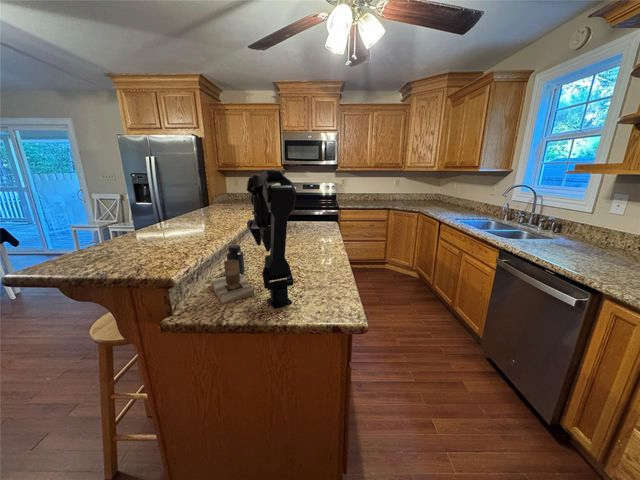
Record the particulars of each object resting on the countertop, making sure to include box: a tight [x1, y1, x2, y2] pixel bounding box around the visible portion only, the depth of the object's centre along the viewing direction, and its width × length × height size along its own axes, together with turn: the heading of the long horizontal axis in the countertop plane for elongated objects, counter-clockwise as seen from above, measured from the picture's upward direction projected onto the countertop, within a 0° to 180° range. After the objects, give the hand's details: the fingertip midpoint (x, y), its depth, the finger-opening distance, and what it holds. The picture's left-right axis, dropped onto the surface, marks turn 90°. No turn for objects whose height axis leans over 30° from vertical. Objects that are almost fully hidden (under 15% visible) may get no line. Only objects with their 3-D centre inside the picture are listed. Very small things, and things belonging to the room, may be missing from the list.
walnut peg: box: [223, 259, 240, 292], centre depth 88 cm, size 5×5×12 cm
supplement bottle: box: [226, 244, 246, 275], centre depth 105 cm, size 7×7×12 cm
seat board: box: [210, 274, 255, 305], centre depth 91 cm, size 16×11×2 cm
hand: (263, 248), depth 98 cm, fingers open, 9 cm apart
